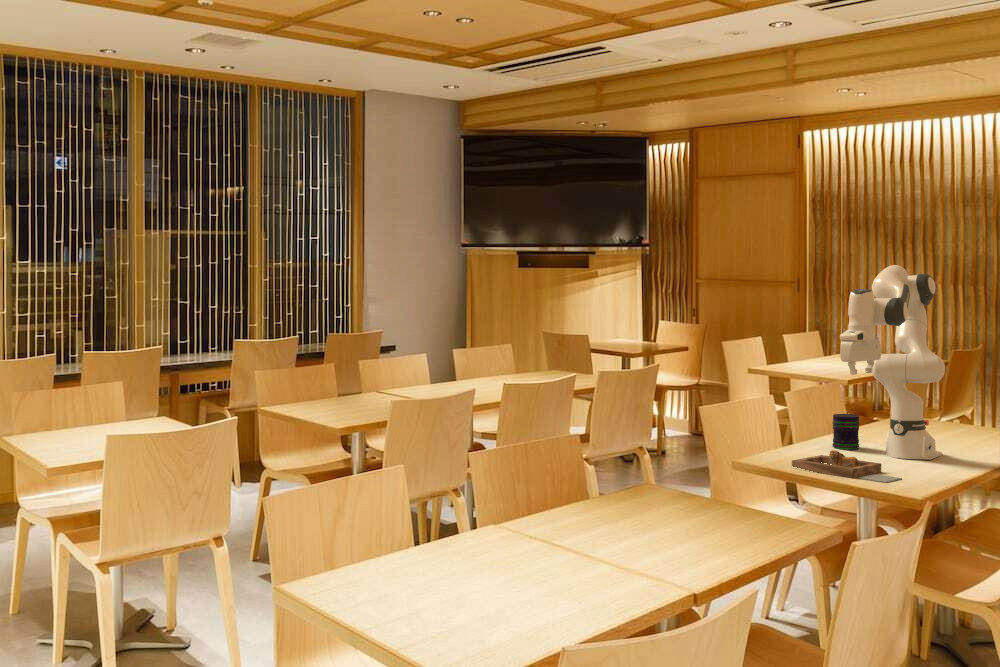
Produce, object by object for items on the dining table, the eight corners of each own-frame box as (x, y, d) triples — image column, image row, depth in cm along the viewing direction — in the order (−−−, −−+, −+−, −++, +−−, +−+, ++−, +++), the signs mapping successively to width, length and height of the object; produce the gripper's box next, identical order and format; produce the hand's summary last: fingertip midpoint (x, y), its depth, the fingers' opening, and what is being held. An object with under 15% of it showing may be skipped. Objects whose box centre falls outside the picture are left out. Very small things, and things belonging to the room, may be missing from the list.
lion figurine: (827, 471, 338) (827, 450, 338) (830, 469, 342) (830, 448, 341) (863, 474, 332) (863, 453, 331) (865, 472, 335) (865, 451, 335)
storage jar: (862, 455, 371) (863, 416, 370) (837, 455, 371) (837, 416, 371) (853, 451, 381) (854, 413, 380) (829, 451, 381) (829, 413, 380)
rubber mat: (874, 475, 329) (874, 474, 329) (901, 479, 321) (902, 478, 321) (858, 478, 323) (858, 477, 323) (885, 483, 315) (885, 481, 315)
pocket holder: (821, 463, 354) (821, 455, 354) (881, 472, 335) (881, 463, 335) (791, 468, 343) (791, 460, 343) (851, 478, 324) (851, 469, 324)
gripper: (869, 333, 347) (869, 371, 347) (836, 335, 335) (836, 374, 335) (885, 334, 342) (885, 372, 342) (853, 335, 330) (853, 375, 330)
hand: (861, 373), depth 339 cm, fingers open, 8 cm apart
